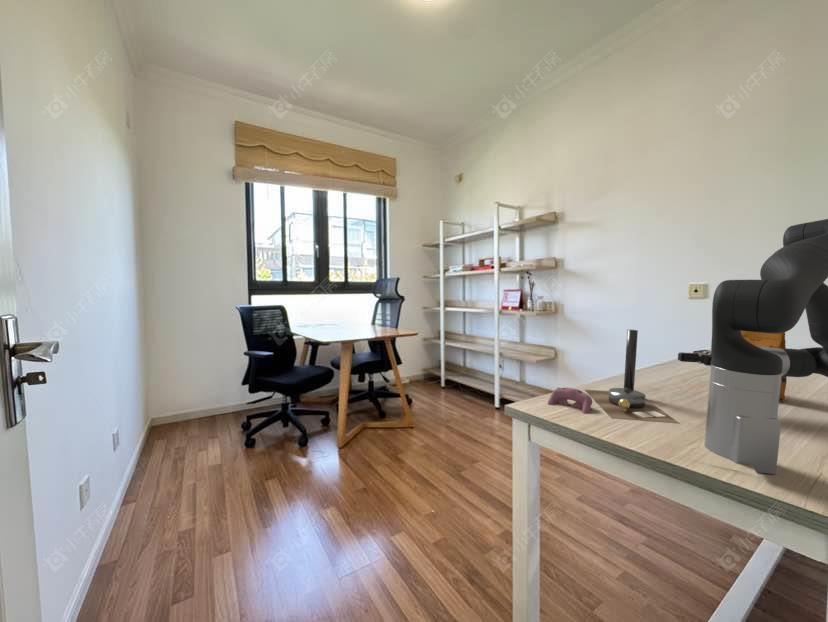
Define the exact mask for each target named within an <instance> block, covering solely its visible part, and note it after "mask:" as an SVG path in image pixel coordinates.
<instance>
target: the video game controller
mask: <svg viewBox="0 0 828 622" xmlns="http://www.w3.org/2000/svg"><path fill="white" fill-rule="evenodd" d="M569 401H573V403H572V405H571V407H574V408H579V409H582V410H581V413H582V414H588V413H590V412H591V408H592V405H593V399H592V398H591V397H590V395H589V394H588V393H587V392H586V391H582V390H580V389H576V388H573V387H557V388H556V389H554V390H553V391H552V392H551V394H550V396H549V399H548V401H547V403H546V404H547V405H549V406H552V405H554V404H556V403H557V404H561V405H566V406H569V404H570V403H569Z"/></svg>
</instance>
